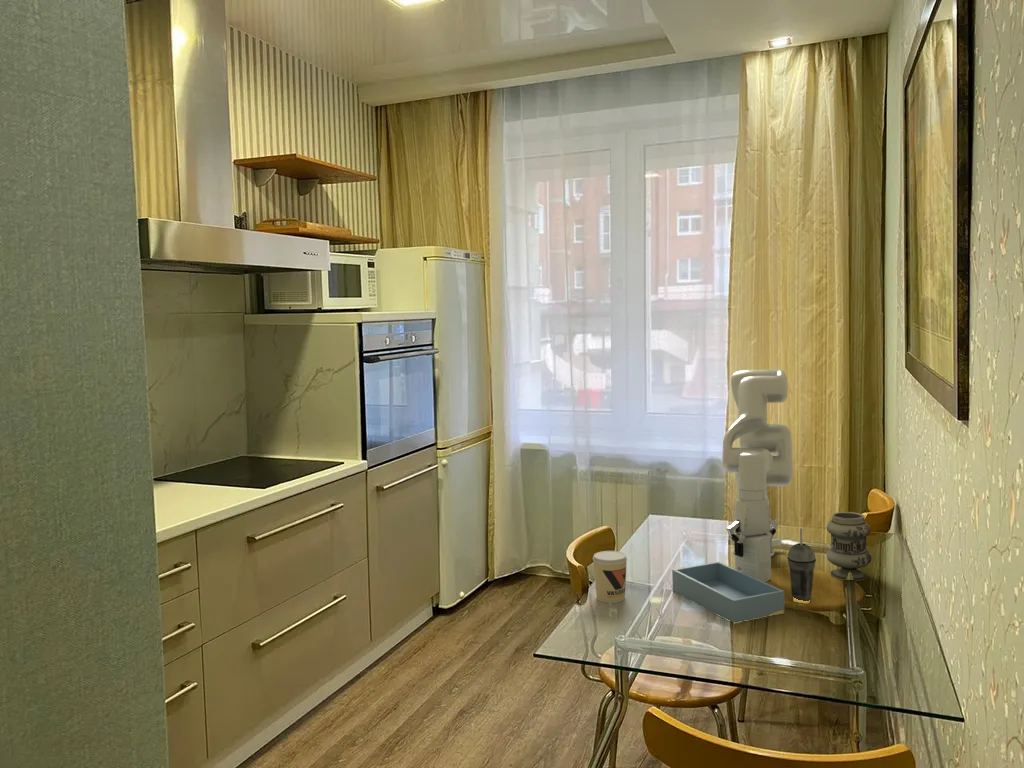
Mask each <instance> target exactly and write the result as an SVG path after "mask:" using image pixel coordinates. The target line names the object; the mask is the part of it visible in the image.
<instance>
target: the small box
mask: <svg viewBox="0 0 1024 768" xmlns="http://www.w3.org/2000/svg"><path fill="white" fill-rule="evenodd" d="M739 537H740V536H739ZM741 543H743V557H739V556H736V555H735V554H734V555H735V556H734V560H735V561H734V562H735V563H734V565H735V568H734V569H736V570H738V571H741V572H743V573H745V574H747V575H750V576H752V577H754V578H756V579H759V580H761V581H763V582H765V581H766V582H768V581H771V580H772V557H771V538H770V536H768V535H763V534H759V535H752V536H745V538H744V539H743V541H742V542H741ZM766 582H765V583H766Z"/></svg>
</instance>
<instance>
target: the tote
mask: <svg viewBox="0 0 1024 768" xmlns="http://www.w3.org/2000/svg"><path fill="white" fill-rule="evenodd" d="M671 573H672V580H671V581H672V591H673V592H674V591H675V593H677V594H678V595H680V596H682V597H684V598H685V599H688V600H689V601H691V602H693V603H695V604H696V605H698V606H700V607H702V608H704V609H706V610H708V611H709V612H711V613H713V612H714V613H713V614H715V613H716V614H718V615H720V616H722V617H724V618H726V619H728V620H730V621H732V622H739V621H744V620H750V619H753V618H758V617H759V618H760V617H763V616H767V615H770V614H772V613H774V612H777V611H780V610H782V609H784V610H785V590H784V589H781V588H778V587H776V586H774V585H772V584H769V583H768V582H763V581H761V580H759V579H756V578H754V577H752V576H750V575H747V574H745V573H743V572H741V571H738V570H736V569H735V568H734V567H731V566H729V565H727V564H725V563H723V562H720V561H716V562H710V563H703V564H698V565H697V564H696V565H692V566H685V567H680V568H673V569H672V571H671ZM716 614H715V615H716ZM718 615H717V616H718ZM720 616H719V617H720ZM722 617H721V618H722ZM724 618H723V619H724Z"/></svg>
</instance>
